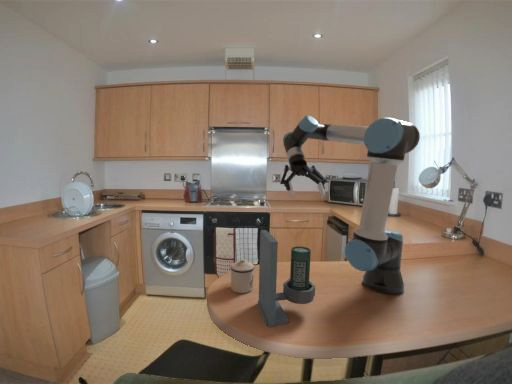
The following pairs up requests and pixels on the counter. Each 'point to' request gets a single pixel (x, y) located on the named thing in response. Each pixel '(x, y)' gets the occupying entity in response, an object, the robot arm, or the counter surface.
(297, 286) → the can
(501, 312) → the counter surface
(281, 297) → the cup bracket
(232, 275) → the teacup with lid
